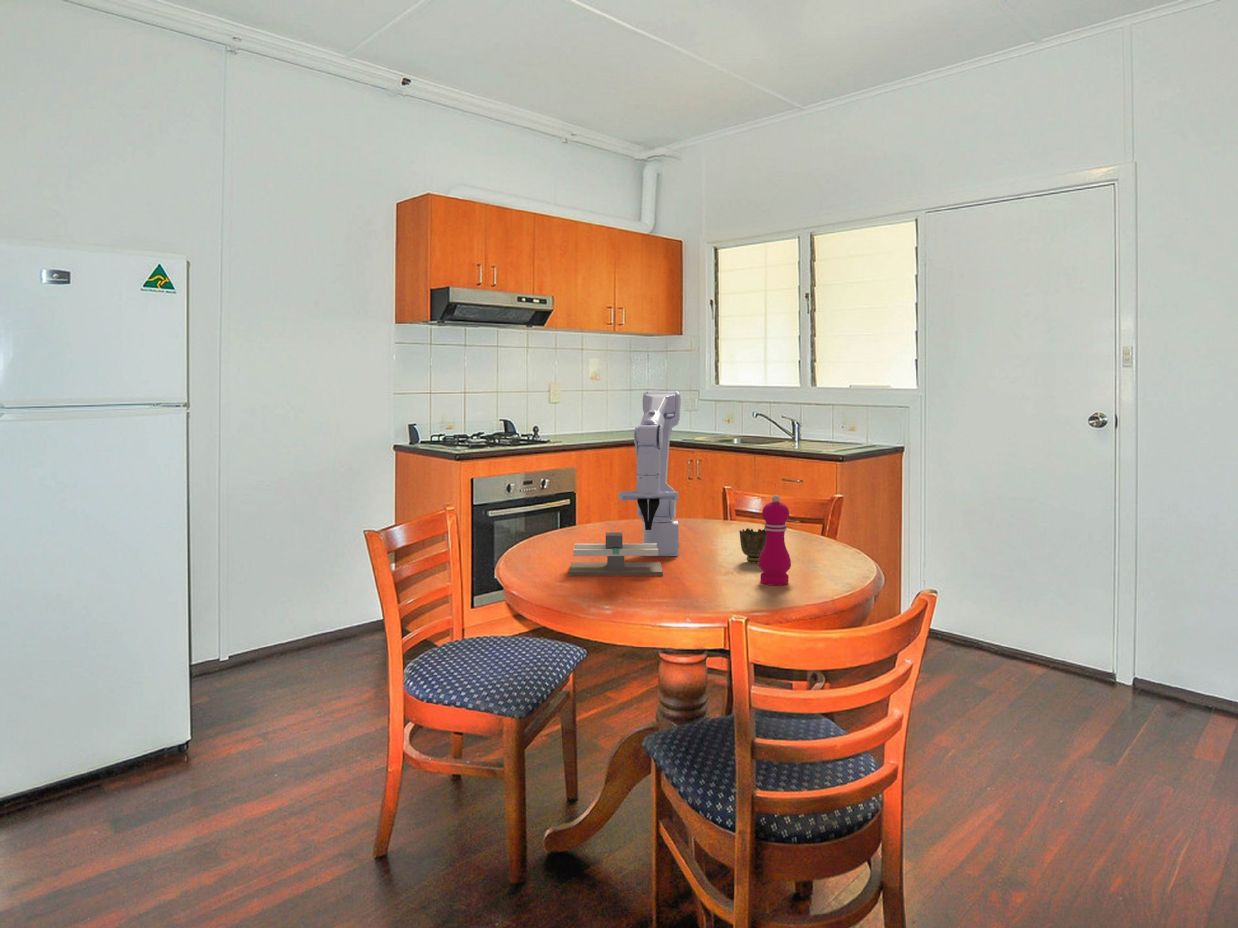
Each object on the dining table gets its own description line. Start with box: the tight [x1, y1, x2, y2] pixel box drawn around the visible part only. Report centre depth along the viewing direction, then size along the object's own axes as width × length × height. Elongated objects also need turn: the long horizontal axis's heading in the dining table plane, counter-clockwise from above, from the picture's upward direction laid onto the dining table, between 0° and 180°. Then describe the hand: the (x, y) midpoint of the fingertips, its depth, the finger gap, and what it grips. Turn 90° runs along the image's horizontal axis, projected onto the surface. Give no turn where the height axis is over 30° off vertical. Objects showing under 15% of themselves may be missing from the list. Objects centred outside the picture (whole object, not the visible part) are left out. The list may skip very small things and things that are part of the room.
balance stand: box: [568, 542, 664, 577], centre depth 188 cm, size 22×10×6 cm, turn 91°
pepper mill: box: [758, 494, 792, 586], centre depth 177 cm, size 7×7×20 cm
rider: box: [605, 531, 623, 549], centre depth 188 cm, size 4×4×4 cm
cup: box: [739, 527, 766, 564], centre depth 197 cm, size 8×7×8 cm
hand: (648, 529), depth 192 cm, fingers closed
